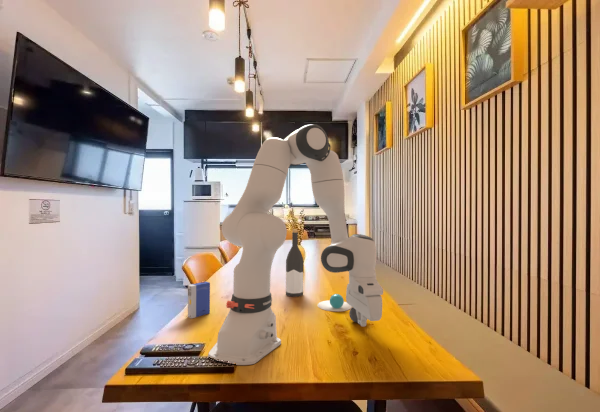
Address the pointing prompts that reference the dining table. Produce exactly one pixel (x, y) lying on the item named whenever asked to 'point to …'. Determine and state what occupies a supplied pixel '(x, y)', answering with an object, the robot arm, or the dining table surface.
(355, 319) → the gray ball
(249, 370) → the dining table surface
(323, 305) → the cream mark
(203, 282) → the walkman
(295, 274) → the wine bottle
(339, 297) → the teal ball
